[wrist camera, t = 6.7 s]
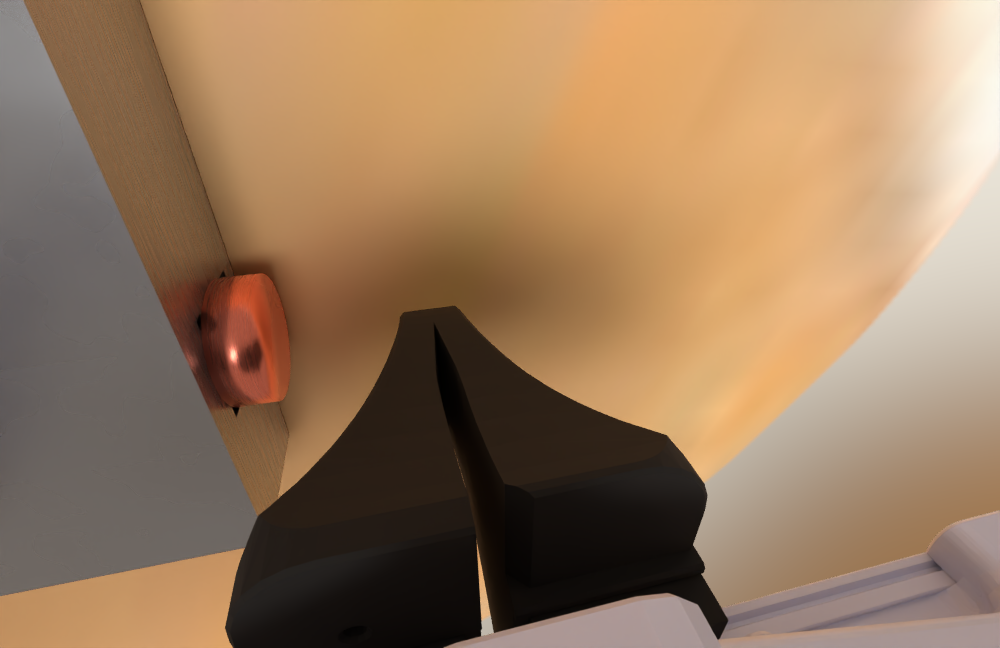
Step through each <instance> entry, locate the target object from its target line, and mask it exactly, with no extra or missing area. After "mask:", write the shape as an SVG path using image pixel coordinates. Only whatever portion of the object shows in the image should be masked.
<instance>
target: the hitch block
mask: <svg viewBox="0 0 1000 648" xmlns="http://www.w3.org/2000/svg"><path fill="white" fill-rule="evenodd" d="M231 276H234V273H233V271H232V268H231V265H230V262H229V259H228V256H227V253H226V250H225V247H224V244H223V242H222V239H221V236H220V233H219V230H218V227H217V224H216V221H215V218H214V216H213V213H212V210H211V207H210V204H209V201H208V198H207V195H206V192H205V189H204V187H203V184H202V181H201V178H200V175H199V172H198V169H197V166H196V163H195V161H194V158H193V155H192V152H191V149H190V146H189V143H188V140H187V137H186V134H185V132H184V129H183V126H182V123H181V120H180V117H179V114H178V111H177V108H176V106H175V103H174V100H173V97H172V94H171V91H170V88H169V85H168V82H167V79H166V77H165V74H164V71H163V68H162V65H161V62H160V59H159V56H158V53H157V51H156V48H155V45H154V42H153V39H152V36H151V33H150V30H149V27H148V24H147V22H146V19H145V16H144V13H143V10H142V7H141V4H140V1H139V0H0V596H3V595H8V594H13V593H18V592H23V591H28V590H33V589H38V588H43V587H48V586H54V585H59V584H64V583H69V582H74V581H79V580H84V579H89V578H94V577H99V576H104V575H109V574H114V573H119V572H124V571H129V570H134V569H140V568H145V567H150V566H155V565H160V564H165V563H170V562H175V561H180V560H185V559H190V558H195V557H200V556H205V555H210V554H215V553H220V552H226V551H231V550H236V549H241V548H245V547H246V544H247V541H248V539H249V536H250V534H251V531H252V529H253V526H254V524H255V521H256V519H257V517H258V516H259V514H261V513H262V512H263V511H264V510H266V509H267V508H268V507H269V506H270V505H272V504H273V503H274V502H275V501H276V500H277V499H278V493H279V488H280V482H281V477H282V471H283V466H284V460H285V455H286V449H287V444H288V438H289V433H288V430H287V427H286V424H285V421H284V418H283V415H282V412H281V409H280V407H279V404H278V401H277V402H271V403H264V404H257V405H251V406H244V407H237V408H233V407H230V406H228V405H227V404H226V403H225V402H224V401H223V400H222V399H221V398H220V396H219V394H218V393H217V391H216V389H215V387H214V385H213V383H212V380H211V377H210V375H209V371H208V368H207V364H206V360H205V356H204V351H203V344H202V334H201V332H200V329H199V327H198V325H197V322H196V319H197V318H198V316H199V314H200V312H201V310H202V302H203V297H204V294H205V291H206V288H207V286H208V285H209V283H210V282H211V281H212V280H213V279H215V278H221V277H231Z"/></svg>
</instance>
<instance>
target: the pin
mask: <svg viewBox="0 0 1000 648" xmlns="http://www.w3.org/2000/svg"><path fill="white" fill-rule="evenodd" d="M196 322H197V325H198V327H199V329H200V332H201V334H202V344H203V351H204V356H205V360H206V364H207V368H208V371H209V375H210V377H211V380H212V383H213V385H214V387H215V389H216V391H217V393H218V394H219V396H220V398H221V399H222V400H223V401H224V402H225V403H226V404H227V405H228V406H230V407H233V408H237V407H244V406H251V405H257V404H264V403H271V402H277V401H281V400H283V399H284V397H285V395H286V393H287V390H288V386H289V380H290V346H289V337H288V330H287V325H286V320H285V315H284V311H283V307H282V304H281V301H280V298H279V295H278V293H277V290H276V288H275V286H274V284H273V282H272V281H271V279H270V278H269V277H268V276H267V275H266V274H263V273H260V274H250V275H241V276H231V277H221V278H215V279H213V280H212V281H211V282H210V283H209V285H208V286H207V288H206V291H205V294H204V297H203V302H202V310H201V312H200V314H199V316H198V318H197V319H196Z"/></svg>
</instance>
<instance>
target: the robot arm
mask: <svg viewBox="0 0 1000 648" xmlns="http://www.w3.org/2000/svg"><path fill="white" fill-rule="evenodd" d="M454 450H455V451H454ZM455 453H456V454H455ZM456 457H457V458H456ZM457 460H458V461H457ZM458 463H459V464H458ZM459 466H460V468H459ZM460 470H461V471H460ZM461 473H462V474H461ZM462 476H463V478H462ZM463 480H464V481H463ZM464 483H465V484H464ZM706 501H707V492H706V488H705V484H704V483H703V481H702V480H701V478H700V477H699V476H698V474H697V473H696V471H695V470H694V469H693V467H692V466H691V464H690V463H689V462H688V460H687V459H686V458H685V456H684V455H683V454H682V452H681V451H680V450H679V449H678V448H677V447H676V446H675V445H674V443H673V442H672V441H671V440H670V439H669V437H668V436H667V435H664V434H661V433H658V432H655V431H652V430H649V429H645V428H642V427H639V426H636V425H633V424H630V423H626V422H623V421H621V420H618V419H615V418H613V417H610V416H608V415H605V414H603V413H601V412H598V411H596V410H593V409H591V408H589V407H587V406H584V405H582V404H580V403H578V402H576V401H574V400H572V399H570V398H568V397H566V396H564V395H562V394H561V393H559V392H557V391H555V390H553V389H551V388H550V387H548V386H546V385H545V384H543V383H542V382H540V381H538V380H537V379H535V378H534V377H532V376H531V375H529V374H528V373H526V372H525V371H524V370H522V369H521V368H520V367H518V366H517V365H516V364H515V363H513V362H512V361H511V360H510V359H508V358H507V357H506V356H505V355H504V354H502V353H501V352H500V351H499V350H498V349H497V348H496V347H495V346H494V345H492V344H491V343H490V342H489V341H488V340H487V339H486V338H485V337H484V336H483V335H482V334H481V333H480V332H479V331H478V330H477V329H476V328H475V327H474V326H473V325H472V324H471V322H470V321H469V320H468V319H467V318H466V317H465V316H464V314H463V313H462V312H461V311H460V310H459V309H458V308H457V307H456V306H450V307H442V308H434V309H426V310H418V311H411V312H404V313H403V314H402V315H401V316H400V323H399V328H398V332H397V335H396V338H395V341H394V344H393V347H392V349H391V352H390V354H389V357H388V359H387V362H386V364H385V366H384V368H383V370H382V372H381V374H380V376H379V378H378V380H377V382H376V384H375V386H374V387H373V389H372V391H371V393H370V394H369V396H368V398H367V399H366V401H365V403H364V404H363V406H362V407H361V409H360V410H359V412H358V413H357V415H356V416H355V417H354V419H353V420H352V421H351V423H350V424H349V425H348V427H347V428H346V429H345V431H344V432H343V433H342V435H341V436H340V437H339V438H338V440H337V441H336V442H335V443H334V444H333V446H332V447H331V448H330V449H329V450H328V451H327V452H326V453H325V454H324V455H323V456H322V458H321V459H320V460H319V461H318V462H317V463H316V464H315V465H314V466H313V467H312V468H311V469H310V470H309V471H308V472H307V473H306V474H305V475H304V476H303V477H302V478H301V479H300V480H299V481H298V482H297V483H296V484H295V485H294V486H292V487H291V488H290V489H289V490H288V491H287V492H286V493H284V494H283V495H282V496H281V497H280V498H279V499H277V500H276V501H275V502H274V503H273V504H272V505H270V506H269V507H268V508H267V509H266V510H264V511H263V512H262V513H261V514H259V516H258V517H257V519H256V521H255V524H254V526H253V529H252V531H251V534H250V536H249V539H248V541H247V544H246V547H245V550H244V552H243V555H242V557H241V560H240V563H239V566H238V570H237V573H236V577H235V582H234V587H233V592H232V597H231V602H230V607H229V612H228V616H227V621H226V626H225V629H226V632H227V635H228V638H229V641H230V643H231V645H232V646H233V648H1000V510H999V511H995V512H991V513H987V514H984V515H980V516H976V517H972V518H968V519H964V520H961V521H958V522H955V523H953V524H950V525H949V526H947V527H946V528H944V529H942V531H940V532H939V533H938V534H937V535H936V536H935V537H934V539H933V540H932V541H931V543H930V544H929V546H928V547H927V552H924V553H921V554H917V555H913V556H910V557H906V558H902V559H899V560H895V561H891V562H888V563H884V564H880V565H876V566H873V567H869V568H865V569H862V570H858V571H854V572H851V573H847V574H843V575H840V576H836V577H832V578H829V579H825V580H822V581H818V582H814V583H811V584H807V585H803V586H799V587H796V588H792V589H789V590H785V591H781V592H778V593H774V594H770V595H766V596H763V597H759V598H755V599H751V600H748V601H744V602H741V603H737V604H734V605H729V606H726V607H722V608H721V606H720V605H719V603H718V601H717V600H716V598H715V596H714V595H713V593H712V591H711V590H710V588H709V586H708V585H707V583H706V581H705V580H704V578H703V576H702V575H701V573H703V572H704V570H705V566H704V562H703V561H702V559H701V557H700V556H699V554H698V553H697V551H696V549H695V548H694V546H693V543H694V540H695V537H696V534H697V531H698V528H699V526H700V523H701V520H702V517H703V514H704V511H705V507H706ZM476 539H477V541H476ZM477 544H478V549H479V555H480V560H481V565H482V571H483V576H484V581H485V587H486V592H487V598H488V603H489V608H490V614H491V619H492V624H493V630H494V633H493V634H489V635H485V636H481V629H482V625H481V608H480V591H479V575H478V558H477Z"/></svg>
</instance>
